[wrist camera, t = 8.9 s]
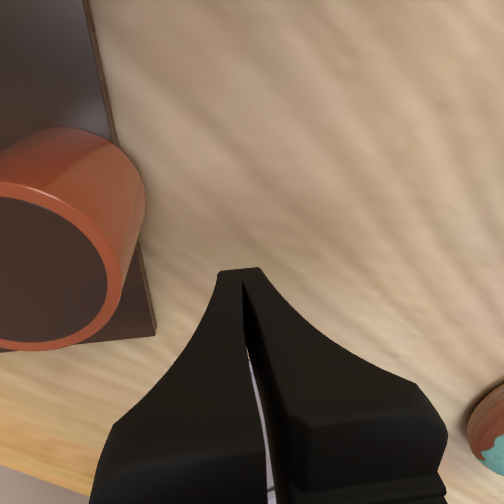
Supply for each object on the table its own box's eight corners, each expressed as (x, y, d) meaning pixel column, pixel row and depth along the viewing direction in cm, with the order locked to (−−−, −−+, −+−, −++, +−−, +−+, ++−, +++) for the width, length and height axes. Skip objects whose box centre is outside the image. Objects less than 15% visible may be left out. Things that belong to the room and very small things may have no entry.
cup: (157, 247, 22) (29, 261, 21) (130, 120, 18) (-24, 132, 18) (139, 340, 15) (-45, 363, 15) (93, 170, 12) (-152, 192, 11)
